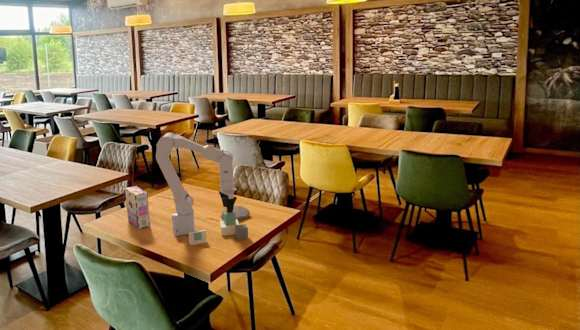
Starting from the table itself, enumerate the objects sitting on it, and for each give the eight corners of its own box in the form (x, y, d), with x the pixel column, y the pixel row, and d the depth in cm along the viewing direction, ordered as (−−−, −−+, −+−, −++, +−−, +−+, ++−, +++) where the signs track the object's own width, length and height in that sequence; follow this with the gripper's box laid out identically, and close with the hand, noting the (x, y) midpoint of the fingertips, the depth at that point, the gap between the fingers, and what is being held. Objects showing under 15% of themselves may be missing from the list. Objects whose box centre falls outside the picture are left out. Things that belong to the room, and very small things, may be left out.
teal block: (225, 225, 204) (225, 215, 202) (223, 222, 208) (223, 211, 206) (235, 224, 205) (235, 213, 204) (233, 220, 209) (232, 210, 208)
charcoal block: (238, 240, 198) (237, 229, 197) (235, 236, 202) (235, 225, 201) (248, 238, 200) (247, 227, 198) (245, 234, 204) (244, 224, 202)
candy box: (150, 226, 213) (147, 192, 208) (138, 230, 209) (134, 195, 205) (139, 218, 223) (136, 185, 219) (127, 220, 220) (124, 187, 216)
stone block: (251, 219, 226) (236, 211, 232) (252, 210, 224) (237, 202, 230) (234, 227, 217) (219, 219, 223) (235, 218, 215) (220, 210, 221)
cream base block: (221, 236, 203) (220, 227, 202) (220, 229, 210) (219, 220, 209) (239, 234, 204) (239, 226, 203) (237, 227, 212) (237, 219, 211)
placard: (190, 245, 193) (189, 234, 192) (188, 242, 196) (188, 231, 195) (206, 242, 196) (206, 231, 194) (205, 239, 198) (204, 228, 197)
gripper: (240, 183, 197) (241, 213, 200) (231, 174, 210) (232, 203, 214) (223, 185, 195) (224, 215, 198) (216, 176, 208) (217, 205, 211)
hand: (228, 209), depth 206 cm, fingers open, 7 cm apart
